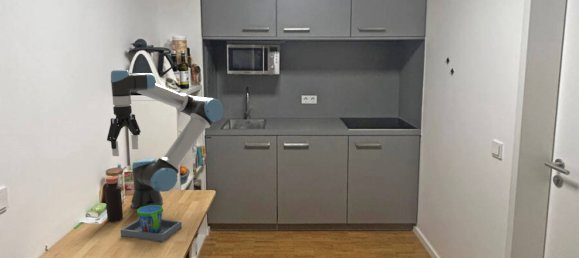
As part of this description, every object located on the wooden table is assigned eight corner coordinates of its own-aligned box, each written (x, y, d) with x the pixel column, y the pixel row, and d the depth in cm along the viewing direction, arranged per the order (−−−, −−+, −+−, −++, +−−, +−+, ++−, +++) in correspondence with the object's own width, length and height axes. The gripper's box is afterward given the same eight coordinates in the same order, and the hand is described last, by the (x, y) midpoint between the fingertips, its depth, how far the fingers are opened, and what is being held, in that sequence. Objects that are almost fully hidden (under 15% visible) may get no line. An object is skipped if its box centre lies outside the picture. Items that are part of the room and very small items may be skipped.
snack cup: (135, 227, 198) (134, 205, 196) (160, 223, 202) (158, 201, 201) (141, 240, 184) (140, 216, 182) (167, 235, 189) (166, 212, 187)
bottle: (113, 216, 212) (109, 175, 209) (126, 217, 211) (122, 176, 207) (104, 221, 206) (100, 179, 202) (117, 222, 205) (114, 180, 201)
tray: (142, 223, 204) (142, 217, 203) (181, 228, 198) (181, 221, 197) (121, 236, 189) (120, 229, 189) (162, 242, 184) (162, 235, 183)
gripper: (132, 101, 212) (135, 146, 215) (95, 108, 188) (99, 158, 192) (146, 102, 209) (149, 147, 213) (110, 109, 186) (114, 159, 190)
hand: (125, 152), depth 203 cm, fingers open, 13 cm apart
